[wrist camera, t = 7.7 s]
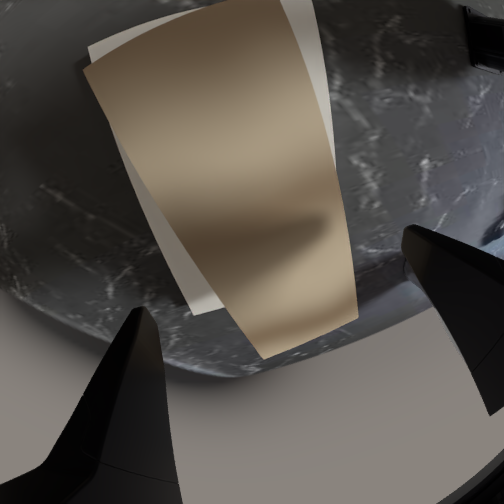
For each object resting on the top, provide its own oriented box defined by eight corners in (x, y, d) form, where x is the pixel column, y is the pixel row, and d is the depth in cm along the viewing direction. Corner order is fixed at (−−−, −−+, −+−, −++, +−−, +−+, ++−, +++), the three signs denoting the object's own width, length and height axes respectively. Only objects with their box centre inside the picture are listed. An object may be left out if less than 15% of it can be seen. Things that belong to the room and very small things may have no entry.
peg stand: (300, 3, 11) (347, -20, 6) (329, 261, 23) (360, 307, 19) (96, 49, 10) (55, 39, 6) (192, 301, 22) (198, 357, 18)
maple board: (340, 289, 17) (358, 317, 15) (254, 327, 17) (263, 359, 15) (255, 7, 7) (274, -11, 5) (105, 71, 7) (82, 69, 5)
